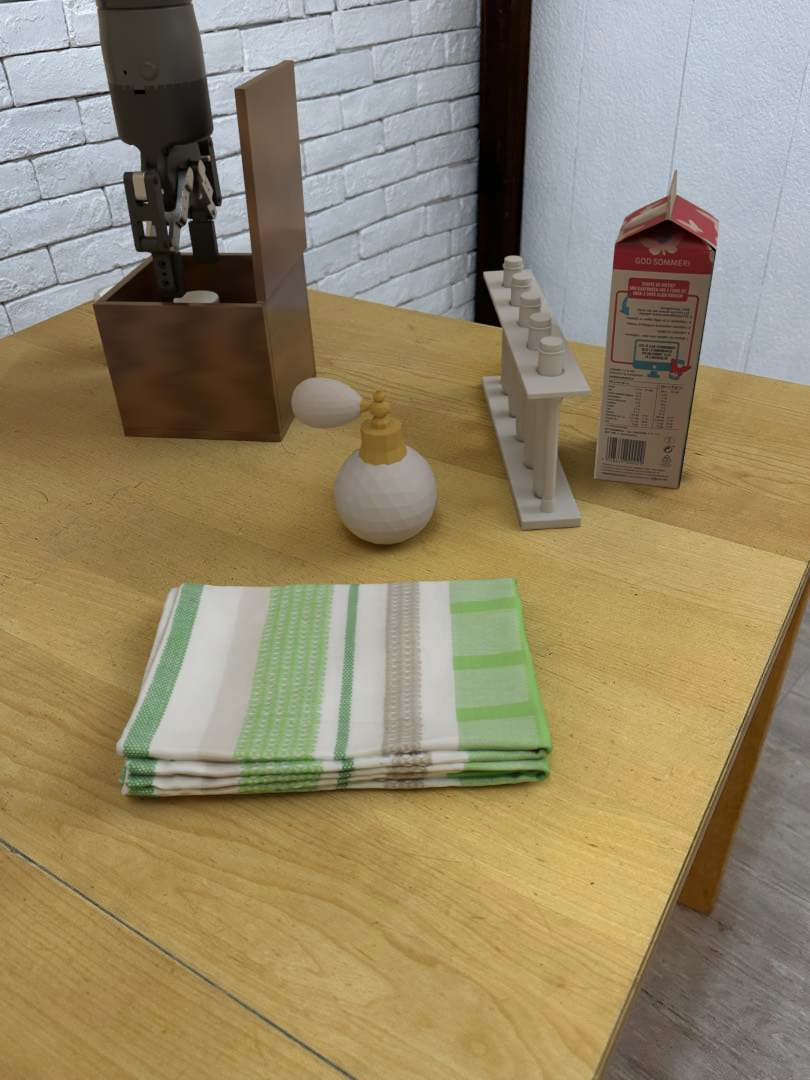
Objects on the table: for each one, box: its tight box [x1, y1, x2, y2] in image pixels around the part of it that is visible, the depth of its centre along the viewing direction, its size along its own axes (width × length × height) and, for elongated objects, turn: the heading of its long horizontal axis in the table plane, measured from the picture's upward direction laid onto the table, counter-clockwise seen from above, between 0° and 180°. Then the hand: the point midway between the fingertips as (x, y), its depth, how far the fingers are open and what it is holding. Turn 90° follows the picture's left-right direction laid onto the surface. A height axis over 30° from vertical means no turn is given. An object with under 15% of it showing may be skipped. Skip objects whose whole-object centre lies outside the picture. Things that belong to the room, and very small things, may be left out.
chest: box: [92, 251, 317, 443], centre depth 83 cm, size 15×14×12 cm
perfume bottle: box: [291, 376, 438, 545], centre depth 64 cm, size 8×10×12 cm
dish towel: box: [115, 577, 554, 798], centre depth 53 cm, size 17×23×4 cm
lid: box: [233, 59, 308, 302], centre depth 73 cm, size 15×14×1 cm
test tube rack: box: [481, 255, 592, 531], centre depth 73 cm, size 25×4×13 cm, turn 3°
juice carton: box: [593, 169, 720, 490], centre depth 68 cm, size 7×7×22 cm
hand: (191, 279), depth 79 cm, fingers open, 8 cm apart
